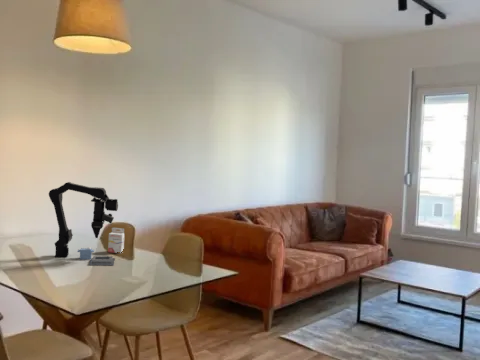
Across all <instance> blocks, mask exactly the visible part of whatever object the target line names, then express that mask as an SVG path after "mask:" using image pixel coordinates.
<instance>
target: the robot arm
mask: <svg viewBox="0 0 480 360" xmlns="http://www.w3.org/2000/svg"><path fill="white" fill-rule="evenodd" d="M67 191H73V192H77V193H83V194H87V195H89V196H91V197H93V198H92V199H91V200H90V202H93V215H92V216H93V218H92V221H91V225H90V226H91V229H92V231H93V235H94V237H95V239H98V238H99V235H100V232H101V229H102V228H103V227H104V224H105V222H107V223H109V224H113V223H112V222H113V221H114V216H113V214H112V213H107V214H106V213H105V210H106V211H109V212H110V211H111V212H118V208H119V202H118V198H117V199H116V198H114V199H113V198H110V197H109V196H108V194H107V192H106V191H107V190H106V189H105V188H104V187H92V186H86V185H82V184H77V183H74V182H70V181H67V182H65V183H64V184H62V185H60V186H59V187H57V188H52V189H51V190H49V192H48V196H49V199H50V200H49V201H51V203H52V204H53V207H54V211H55V215H56V220H57V224H58V240H56V242H54V245H55V246H54V247H55V255H54V258H67V257H68V256H69V252H70V249H69V243H70V242H71V241H72V239H73V236H74V234H73V230H72V228H70V229H69V228H68V224H67V220H66V215H65V211H64V207H63V198H64V197H63V194H64V193H66V192H67Z"/></svg>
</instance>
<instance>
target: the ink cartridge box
mask: <svg viewBox="0 0 480 360" xmlns="http://www.w3.org/2000/svg"><path fill="white" fill-rule="evenodd" d="M107 242H108V243H107V245H108V246H107V247H108V248H107V253H113V254H118V253H117V252H120V253H119V254H122V253H123V252H122V251H123V249H124V250H125V228H124V227H123V228H120V227H111V232H109V233H108V241H107ZM121 252H122V253H121Z"/></svg>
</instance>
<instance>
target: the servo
mask: <svg viewBox="0 0 480 360" xmlns="http://www.w3.org/2000/svg"><path fill="white" fill-rule="evenodd" d="M94 252H95V249H93V248H92V247H87V248H84V247H83V248H82V247H81V248H80V249H77V251H76V253H79V260H91V258H92V253H94Z"/></svg>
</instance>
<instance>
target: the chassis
mask: <svg viewBox="0 0 480 360" xmlns="http://www.w3.org/2000/svg"><path fill="white" fill-rule="evenodd" d="M115 260H116V258H115V257H113V256H112V255H111V256H109V255H108V256H107V255H105V256H104V255H102V256H101V255H100V256H98V255H96V256H95V255H94V256H93V257H91V259H89V262H88V266H114V265H115V262H116V261H115ZM114 261H115V262H114Z"/></svg>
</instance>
